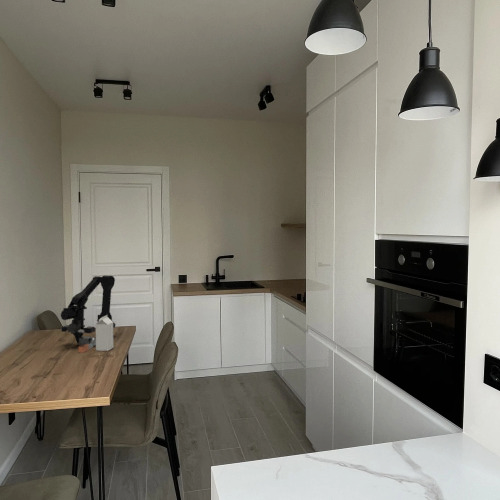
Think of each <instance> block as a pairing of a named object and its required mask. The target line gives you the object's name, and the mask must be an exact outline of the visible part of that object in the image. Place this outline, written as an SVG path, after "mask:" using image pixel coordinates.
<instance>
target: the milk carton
mask: <svg viewBox="0 0 500 500" xmlns="http://www.w3.org/2000/svg"><path fill="white" fill-rule="evenodd" d="M112 321H113V320H112ZM112 321H111V320H110V319H109V318H108V317H107V315H106V316H104V317H101V319H99V322H98V321H97V323H96V324H95V337H96V346H95V350H96V351H97V352H99V351H100V352H101V351H102V352H103V351H104V352H105V351H106V352H108V351H110V350H112V349H114V336H113V335H114V328H113V322H114V321H113V322H112Z"/></svg>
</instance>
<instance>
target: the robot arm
mask: <svg viewBox="0 0 500 500" xmlns="http://www.w3.org/2000/svg"><path fill="white" fill-rule="evenodd" d="M115 281H116V279H115V277H114V276H113V275H105V274H104V275H102V276H100V275H99V276H97V275H95V276H93V277H92V279H91V280H90V281H89V282H88V284H87V285H86V286H85V287H84V288H83V289H82V291H80V292H78V293H76V294H75V295H74V296H73V297H72V298H71V301H70V302H69V304H68V306H67V307H64V308H63V310H62V311H61V313H60V318H61V320H63V321H67V320H71V323H69V324H67V325H66V324H65V325H63V326H62V327H61V328H60V331H61V332H62V333H66V332H68V333H70V334H72V335H73V336H74V338H75V341H76V344H78V345H79V338H81V337H83V335H84V334H92V333H94V332H95V333H96V326H87V327H86V325H85V321H86V318H85V310H87V309H88V308H87V306H86V303H87V302H88V300H89V296H90V295H91V294H92V293H93V292H94V291H95V290H96V289H97V287H98V286H99V285H100V286H101V289H102V299H101V300H102V301H101V312H100V314H97V320H96V322H97V323H98V322H99V319H101V317H104V316H106V315H107V317H108V318H109V319H110V320H111V321H112V322H113V329H114V328H116V323H115V322H114V321H113V316H112V314H111V312H110V311H111V299H112V298H111V297H112V290H113V288H114V286H115ZM113 337H115V335H114V334H113Z"/></svg>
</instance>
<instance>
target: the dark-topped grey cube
mask: <svg viewBox="0 0 500 500" xmlns="http://www.w3.org/2000/svg"><path fill="white" fill-rule="evenodd" d="M91 337H92V336H85V335H84V336H82V337H81V338H79V344H78V347H79V346H81V345H83V344H86V343H89V340H90V338H91Z"/></svg>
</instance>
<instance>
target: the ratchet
mask: <svg viewBox="0 0 500 500" xmlns="http://www.w3.org/2000/svg"><path fill="white" fill-rule="evenodd" d="M90 337H91V338H90V340H89V343H86V344H83V345H81V346H79V345H78V353H82V354H83V353H85V352H87V351H89V350H91V349H92V348H94V347H96V336H95V337H94V336H90Z"/></svg>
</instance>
